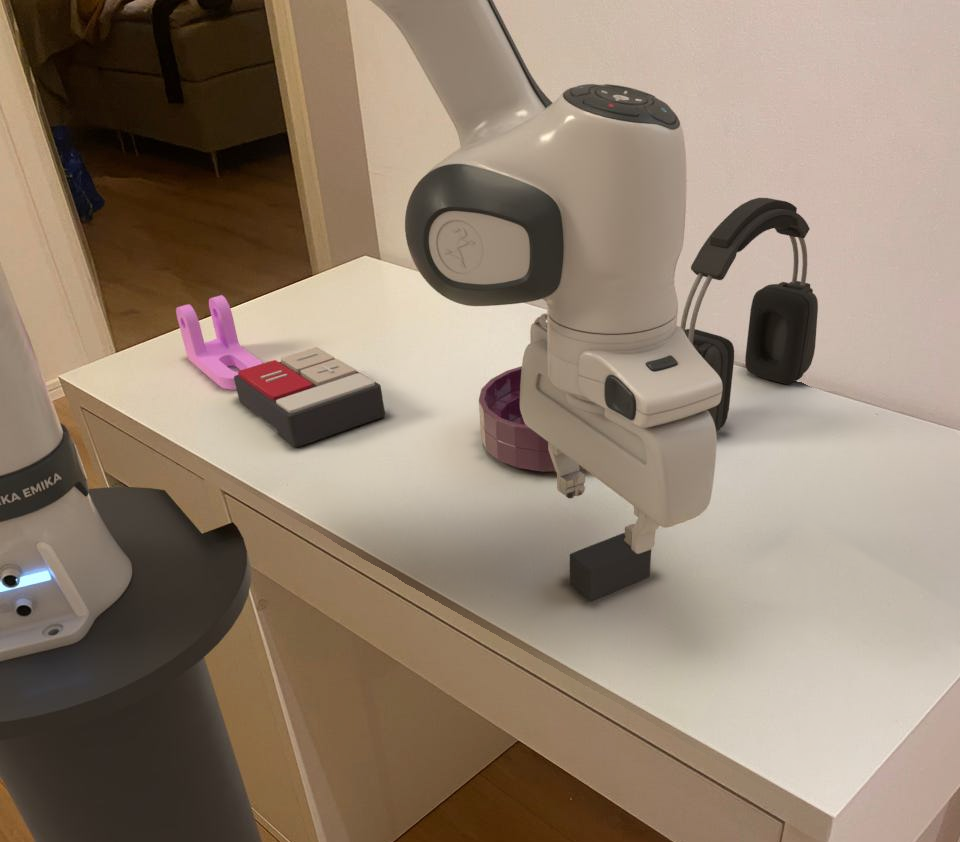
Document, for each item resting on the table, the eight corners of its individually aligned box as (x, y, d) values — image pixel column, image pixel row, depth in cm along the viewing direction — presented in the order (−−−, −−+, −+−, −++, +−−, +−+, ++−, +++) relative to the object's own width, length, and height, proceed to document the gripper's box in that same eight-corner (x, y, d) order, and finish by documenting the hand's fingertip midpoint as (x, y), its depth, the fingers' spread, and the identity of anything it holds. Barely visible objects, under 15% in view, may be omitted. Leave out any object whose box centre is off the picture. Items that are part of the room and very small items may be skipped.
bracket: (188, 358, 123) (173, 303, 118) (229, 346, 125) (216, 291, 120) (229, 394, 114) (214, 335, 110) (273, 380, 116) (261, 322, 112)
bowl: (533, 493, 93) (531, 445, 90) (455, 431, 104) (452, 387, 100) (662, 447, 98) (665, 400, 95) (576, 392, 109) (577, 349, 106)
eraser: (590, 601, 80) (590, 571, 78) (569, 583, 82) (569, 553, 80) (650, 576, 82) (651, 546, 80) (628, 559, 84) (629, 529, 82)
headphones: (698, 449, 98) (716, 240, 85) (646, 430, 101) (656, 227, 89) (817, 372, 109) (849, 178, 96) (767, 357, 113) (791, 169, 100)
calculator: (318, 342, 115) (381, 378, 104) (325, 377, 117) (387, 416, 107) (230, 369, 110) (286, 409, 100) (239, 405, 113) (295, 448, 102)
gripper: (497, 314, 75) (503, 474, 84) (661, 416, 61) (647, 596, 70) (567, 297, 78) (565, 454, 86) (741, 391, 63) (717, 569, 72)
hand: (603, 519), depth 78 cm, fingers open, 8 cm apart
